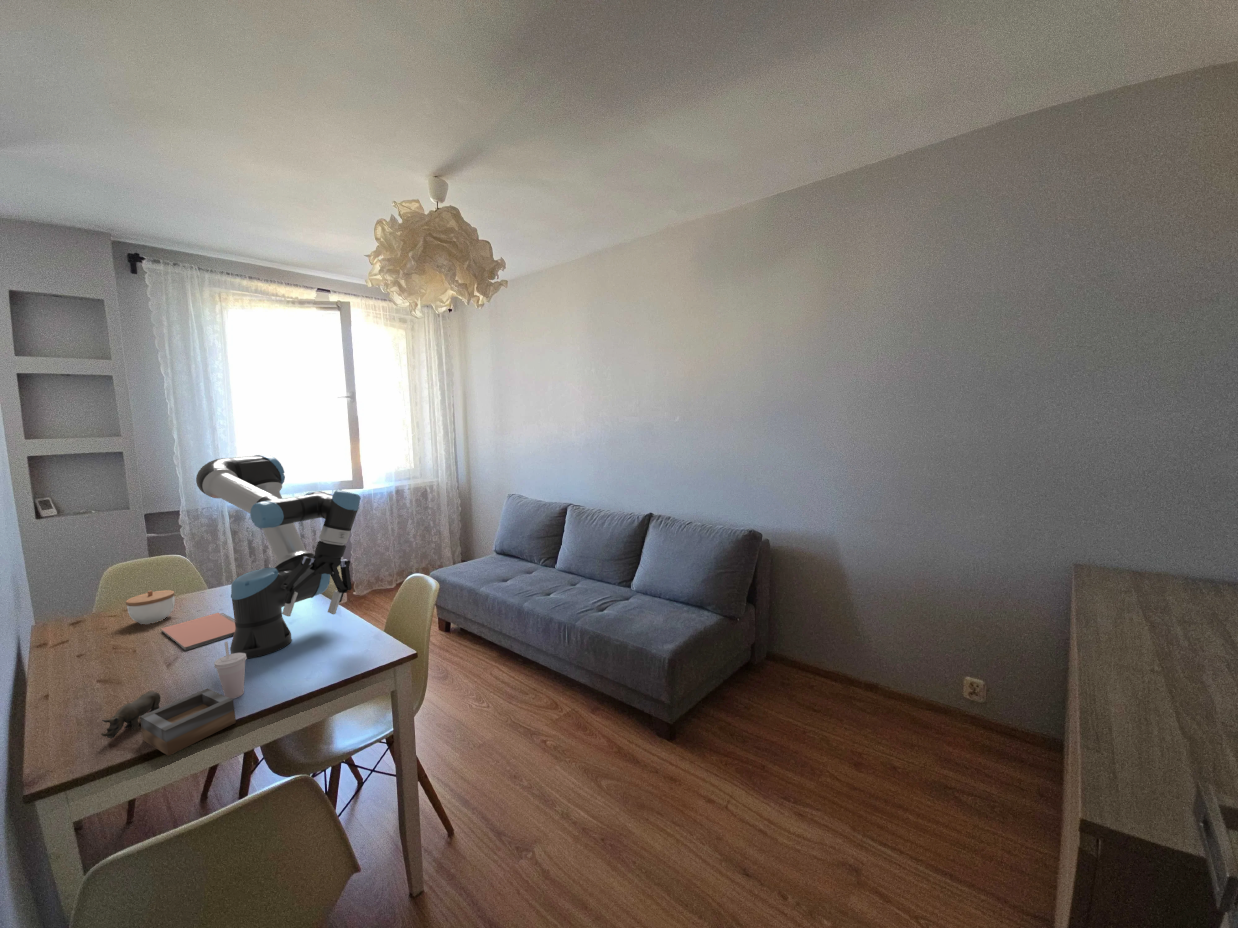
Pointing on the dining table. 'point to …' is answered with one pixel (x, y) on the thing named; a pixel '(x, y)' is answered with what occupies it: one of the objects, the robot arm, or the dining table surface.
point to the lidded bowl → (151, 606)
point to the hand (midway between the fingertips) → (309, 614)
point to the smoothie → (231, 673)
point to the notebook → (201, 630)
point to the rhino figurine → (132, 713)
